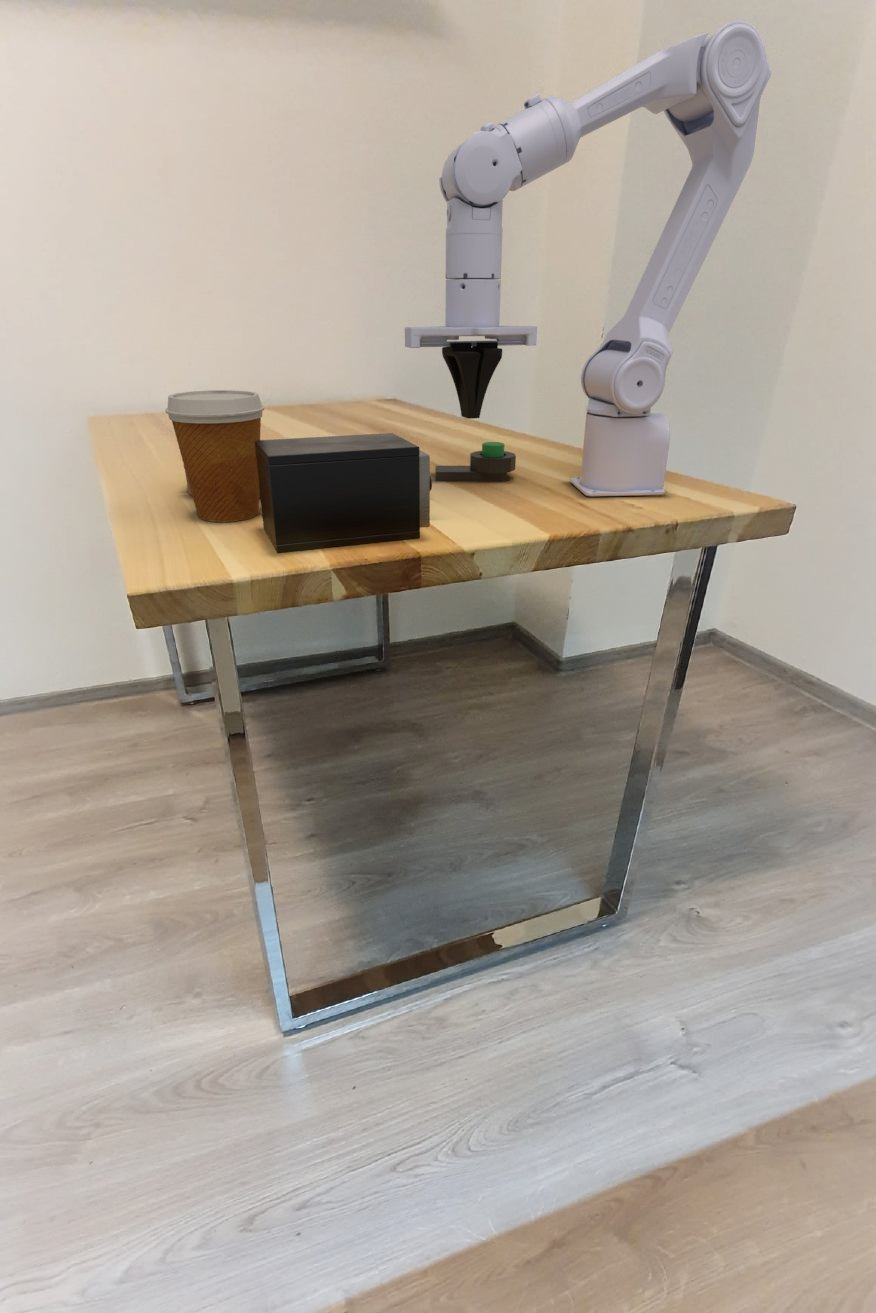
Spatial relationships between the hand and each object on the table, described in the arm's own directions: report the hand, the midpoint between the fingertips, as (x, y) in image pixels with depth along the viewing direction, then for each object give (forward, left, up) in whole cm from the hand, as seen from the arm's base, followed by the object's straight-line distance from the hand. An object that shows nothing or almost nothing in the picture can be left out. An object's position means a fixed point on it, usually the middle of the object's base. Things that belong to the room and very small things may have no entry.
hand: (470, 417), depth 81 cm
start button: (-4, -9, -6) cm, 12 cm away
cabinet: (+15, +14, -9) cm, 22 cm away
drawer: (+12, +14, -8) cm, 20 cm away
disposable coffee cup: (+27, +6, -9) cm, 29 cm away
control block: (-1, -9, -9) cm, 13 cm away
